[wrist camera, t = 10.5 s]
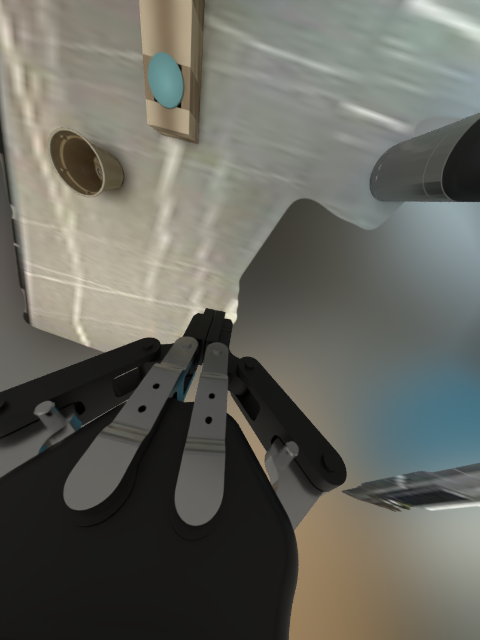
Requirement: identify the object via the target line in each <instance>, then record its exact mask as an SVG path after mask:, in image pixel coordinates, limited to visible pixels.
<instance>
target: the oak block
mask: <svg viewBox="0 0 480 640" xmlns="http://www.w3.org/2000/svg"><path fill="white" fill-rule="evenodd" d="M204 1H205V0H139V4H140V19H141V34H142V48H143V63H144V78H145V93H146V108H147V122H148V125H150V126H151V127H153V128H154V129H155V130H157V131H158V132H160V133H161V134H162V135H166V136H170V137H173V138H177V139H181V140H185V141H189V142H193V143H197V144H198V132H199V110H200V88H201V66H202V45H203V23H204ZM159 52H164V53H167V54H169V55H170V56H171V57H172V58H173V59H174V60H175V62H176V63H177V65H178V67H179V69H180V71H181V73H182V76H183V81H184V95H183V98H182V101H181V108H177V107H176V108H174V109H168V108H165V107H163V106H162V105H161V104H160V103H159V102H158V101H157V100H156V99H155V97H154V95H153V94H152V91H151V89H150V86H149V81H148V66H149V63H150V60H151V58H152V57H153V56H154V55H155V54H156V53H159Z"/></svg>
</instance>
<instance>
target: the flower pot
mask: <svg viewBox="0 0 480 640" xmlns="http://www.w3.org/2000/svg"><path fill="white" fill-rule="evenodd" d="M48 153H49V157H50V160H51V163H52V165H53V168H54V169H55V171H56V173H57V174H58V176H59V177H60V179H61V180H62V181H63V182H64V183H65V184H66V185H67V186H68V187H69V188H70V189H71V190H73V191H74V192H76V193H77V194H79V195H81V196H85V197H95V196H98V195H99V194H101V192H103V191H106V190H111V189H117V188H119V187H120V186H121V185H122V182H123V179H124V176H123V171H122V168H121V166H120V164H119V162H118V161H117V160H116V159H115V158H114V157H113V156H112V155H111V154H109V153H108V152H106V151H104V150H102V149H100V148H98V147H96V146H95V145H93V144H91V143H90V142H89V141H88V140H87V139H86V138H85V137H84V136H82V135H81V134H80V133H78V132H76V131H74V130H72V129H69V128H58V129H56V130H54V131H53V132H52V133H51V135H50V137H49V140H48ZM98 169H99V171H100V174H101V175H100V174H99V172H98Z"/></svg>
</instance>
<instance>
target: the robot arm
mask: <svg viewBox="0 0 480 640" xmlns="http://www.w3.org/2000/svg"><path fill="white" fill-rule="evenodd" d="M370 188H371V192H372V194H373V196H374V197H375V198H377V199H378V200H381V201H421V202H423V201H424V202H426V201H427V202H480V113H478V114H475V115H473V116H470V117H467V118H465V119H462V120H460V121H457V122H455V123H452V124H449V125H447V126H444V127H442V128H439V129H436V130H434V131H431V132H428V133H426V134H423V135H421V136H418V137H415V138H412V139H410V140H407V141H405V142H402V143H399V144H397V145H395V146H393V147H392V148H391V149H389V150H388V151H387V152H386V153H385V154H384V155H383V156H382V157H381V158H380V159H379V161H378V162H377V164H376V166H375V167H374V170H373V172H372V175H371V180H370ZM232 326H233V323H232V321H231V320H230V319H225V312H223V311H218V310H213V309H208V308H206V310H205V312H204V314H200V313H197V314H196V315H194V316H193V318H192V320H191V322H190V324H189V326H188V328H187V329H186V331H185V333H184V335H183V337H181V338H179V339H177V340H176V341H175V343H173V344H161V345H160V342H159V340H157V339H155V338H143V339H140V340H138V341H135V342H132V343H130V344H127V345H124V346H122V347H119V348H116V349H114V350H111V351H108V352H106V353H103V354H100V355H98V356H95V357H93V358H90V359H87V360H85V361H82V362H79V363H77V364H74V365H71V366H69V367H66V368H64V369H61V370H58V371H56V372H53V373H50V374H47V375H45V376H42V377H40V378H37V379H34V380H32V381H29V382H26V383H24V384H21V385H19V386H16V387H13V388H10V389H8V390H5V391H3V392H0V640H289V627H290V616H291V609H292V603H293V598H294V594H295V589H296V584H297V577H298V549H297V542H296V537H295V534H294V530H295V529H296V527H297V526H298V525H299V523H300V522H301V521H302V519H303V518H304V517H305V515H306V514H307V513H308V511H309V510H310V509H311V507H312V506H313V505H314V503H315V502H316V501H317V500H318V498H319V497H320V496H322V495H324V494H326V493H327V492H329V491H331V490H333V489H335V488H336V487H338V486H340V485H342V484H343V483H344V482H345V480H346V476H347V475H346V474H347V473H346V467H345V464H344V462H343V460H342V458H341V457H340V455H339V454H338V453H337V451H336V450H335V449H334V448H333V447H332V446H331V445H330V443H329V442H328V441H327V440H326V439H325V438H324V436H323V435H322V434H321V433H320V432H319V431H318V430H317V428H316V427H315V426H314V425H313V424H312V423H311V422H310V420H309V419H308V418H307V417H306V416H305V415H304V413H303V412H302V411H301V410H300V409H299V408H298V407H297V405H296V404H295V403H294V402H293V401H292V400H291V399H290V397H289V396H288V395H287V394H286V393H285V392H284V390H283V389H282V388H281V387H280V386H279V385H278V384H277V382H276V381H275V380H274V379H273V378H272V377H271V376H270V375H269V373H268V372H267V371H266V370H265V369H264V368H263V366H262V365H261V364H260V363H259V362H258V361H257V360H256V359H254V358H252V357H243V358H241V359H239V358H237V357H235V356H234V355H233V354H232V353H231V352H230V350H229V343H230V338H231V332H232ZM203 360H204V361H203ZM202 363H203V367H202V372H201V374H200V379H199V383H198V388H197V393H196V398H195V402H184V399H185V397H186V394H187V392H188V390H189V387H190V385H191V383H192V381H193V378H194V376H195V372H196V370H197V367H198V365H202ZM136 367H138V368H137V369H134V368H136ZM132 369H134V370H132ZM130 370H132V371H130ZM128 371H130V372H128ZM126 372H128V373H126ZM123 373H126V374H124V375H122V376H120V377H118V378H116V377H117V376H119V375H121V374H123ZM114 378H116V379H114ZM228 391H230V392H231V396H232V397H233V399H234V401H235V402H236V404H237V405H238V407H239V408H240V410H241V412H242V413H243V415H244V416H245V418H246V420H247V421H248V423H249V424H250V426H251V427H252V429H253V431H254V432H255V434H256V435H257V437H258V439H259V440H260V442H261V443H262V445H263V446H264V448H265V450H266V451H267V452H266V455H265V467H266V470H267V472H268V474H269V477H270V481H271V483H270V482H269V480H268V478H267V476H266V474H265V472H264V471H263V469H262V467H261V465H260V463H259V461H258V460H257V458H256V456H255V454H254V452H253V450H252V448H251V447H250V445H249V443H248V441H247V439H246V438H245V436H244V434H243V432H242V430H241V428H240V427H239V425H238V423H237V422H236V421H235V420H234V418H233V417H232V416H230V415H229V414H228V413H226V412H227V393H228ZM127 399H129V400H128V401H126V400H127ZM124 401H126V402H124ZM122 402H124V403H122ZM120 403H122V404H120ZM119 404H120V405H119ZM117 405H118V406H117ZM115 406H116V407H115ZM113 407H115V408H113ZM111 408H113V409H112V410H110V409H111ZM108 410H110V411H108ZM106 411H108V412H107V413H105V412H106ZM103 413H105V414H103ZM101 414H103V415H102V416H100V417H98V416H99V415H101ZM96 417H98V418H97V419H95V420H94V421H92V422H90V423H89V424H87V425H85V426H84V427H82V428H81V426H82V425H84V424H86V423H87V422H89V421H91V420H93V419H94V418H96Z"/></svg>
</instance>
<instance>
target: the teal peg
mask: <svg viewBox="0 0 480 640" xmlns="http://www.w3.org/2000/svg"><path fill="white" fill-rule="evenodd" d="M148 81H149V86H150V89H151V91H152V94H153V95H154V97H155V99H156V100H157V101H158V102H159V103H160V104H161V105H162V106H163V107H165V108H168V109H174V108H176V107H177V108H181V101H182V98H183V95H184V81H183V76H182V73H181V71H180V69H179V67H178V65H177V63H176V62H175V60H174V59H173V58H172V57H171V56H170V55H169V54H167V53H164V52H159V53H156V54H155V55H154V56H153V57H152V58H151V60H150V63H149V66H148Z"/></svg>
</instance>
